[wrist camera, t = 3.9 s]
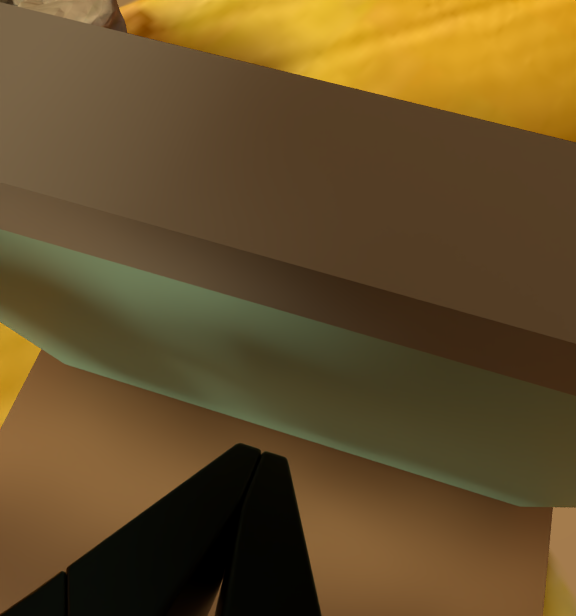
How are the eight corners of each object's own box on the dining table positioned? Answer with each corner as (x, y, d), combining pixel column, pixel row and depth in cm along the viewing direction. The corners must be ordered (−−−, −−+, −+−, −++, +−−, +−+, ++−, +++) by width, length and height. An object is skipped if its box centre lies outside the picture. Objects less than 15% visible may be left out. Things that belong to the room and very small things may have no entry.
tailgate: (525, 520, 14) (1414, 578, 3) (54, 371, 15) (-503, 41, 4) (532, 455, 14) (1287, 316, 4) (80, 318, 16) (-349, -83, 5)
